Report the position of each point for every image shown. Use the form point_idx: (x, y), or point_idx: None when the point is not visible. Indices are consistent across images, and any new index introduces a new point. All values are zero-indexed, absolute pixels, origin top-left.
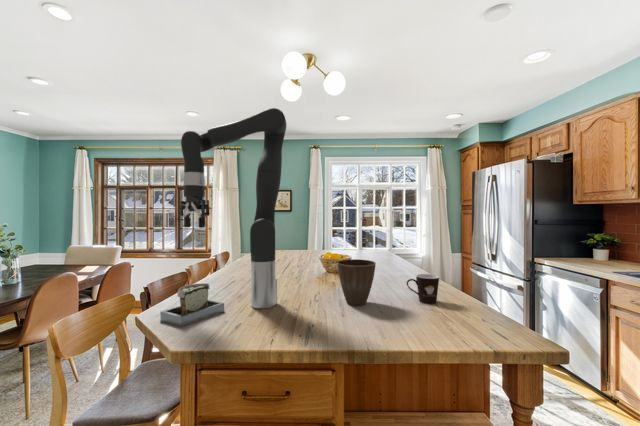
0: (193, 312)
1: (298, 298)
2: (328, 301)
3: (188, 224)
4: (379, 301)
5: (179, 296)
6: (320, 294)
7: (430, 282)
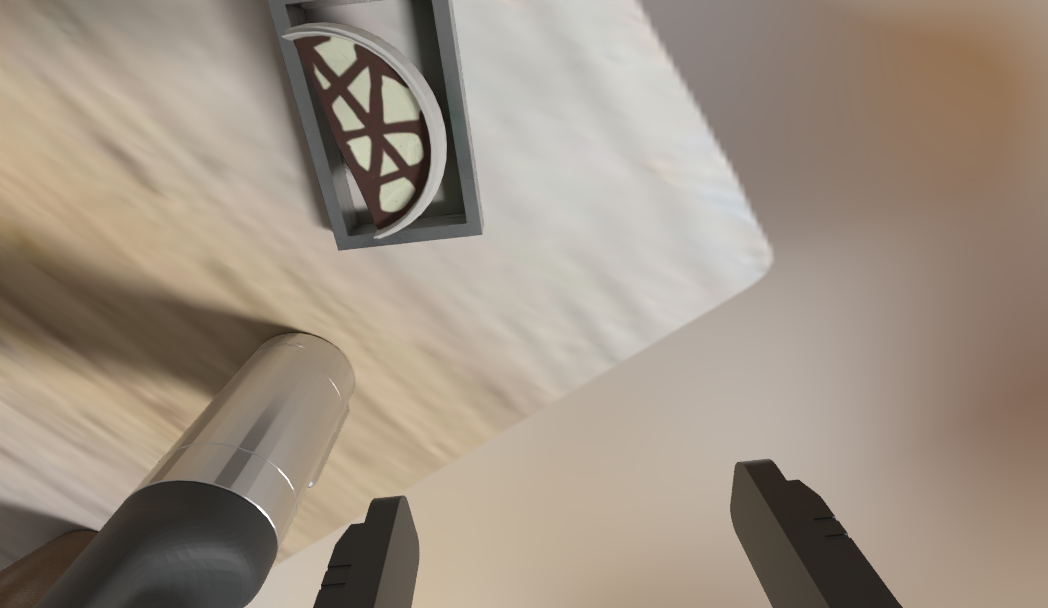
0: (295, 72)
1: None
2: None
3: (750, 529)
4: None
5: (327, 22)
6: None
7: None
